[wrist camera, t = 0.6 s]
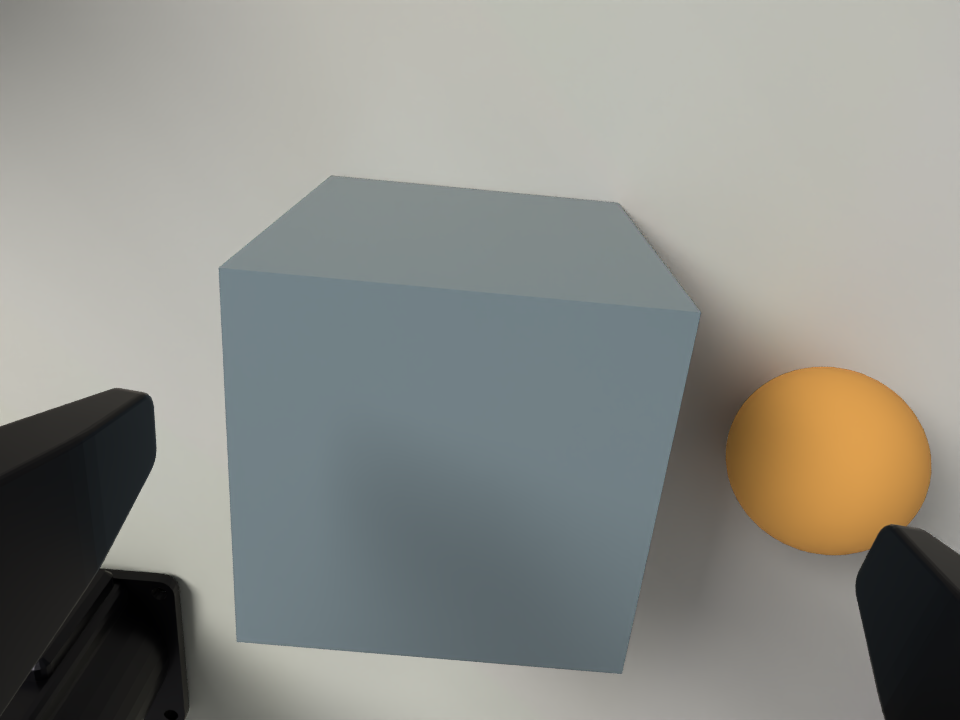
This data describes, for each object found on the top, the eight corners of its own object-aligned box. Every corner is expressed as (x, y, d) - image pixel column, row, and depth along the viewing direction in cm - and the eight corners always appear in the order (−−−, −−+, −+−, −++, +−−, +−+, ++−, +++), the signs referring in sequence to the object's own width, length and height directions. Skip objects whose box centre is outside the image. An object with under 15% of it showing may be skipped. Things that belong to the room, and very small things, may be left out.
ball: (848, 494, 24) (934, 604, 19) (690, 480, 23) (738, 587, 19) (897, 347, 22) (1006, 430, 17) (725, 331, 21) (788, 411, 17)
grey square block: (577, 452, 23) (621, 674, 15) (327, 429, 23) (236, 641, 15) (618, 202, 20) (701, 312, 12) (330, 175, 20) (218, 267, 12)
